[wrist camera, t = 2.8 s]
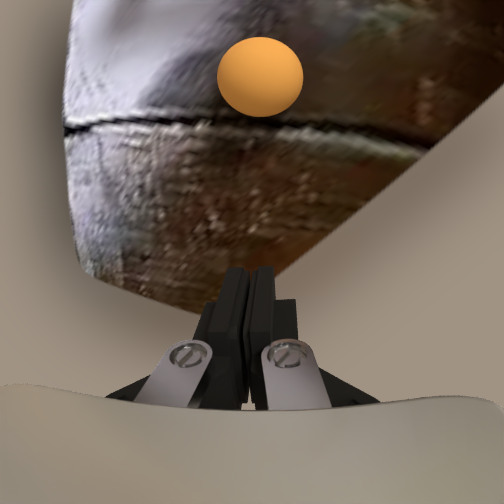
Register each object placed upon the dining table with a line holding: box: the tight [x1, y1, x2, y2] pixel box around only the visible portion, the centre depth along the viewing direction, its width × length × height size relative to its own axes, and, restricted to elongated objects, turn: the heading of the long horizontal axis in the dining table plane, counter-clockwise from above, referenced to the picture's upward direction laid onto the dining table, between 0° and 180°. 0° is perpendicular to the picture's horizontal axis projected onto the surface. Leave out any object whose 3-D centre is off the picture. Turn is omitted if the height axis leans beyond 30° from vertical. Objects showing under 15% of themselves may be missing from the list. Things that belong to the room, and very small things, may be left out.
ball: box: [217, 37, 303, 117], centre depth 20 cm, size 6×6×6 cm
